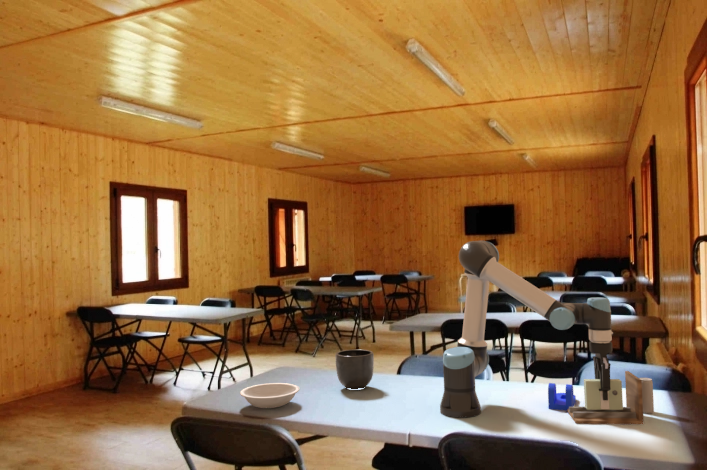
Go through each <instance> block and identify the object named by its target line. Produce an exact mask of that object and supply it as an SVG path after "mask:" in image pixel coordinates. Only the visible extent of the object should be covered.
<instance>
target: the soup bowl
mask: <svg viewBox="0 0 707 470" xmlns="http://www.w3.org/2000/svg"><path fill="white" fill-rule="evenodd" d="M299 391H300V386H298V385H296V384H292V383H286V382H285V383H284V382H268V383H260V384H255V385H254V384H253V385H252V386H251V385H250V386H248V387H244V388H243V389H242V390H240V392H239V394H240V395H241V396H242V397H243V398H244V399H245V400H246V401H247V402H248V404H250V405H251V406H253V407H255V408H260V409H274V408H279V407H283V406H285V405H286V404H288V403H290V402H291V401H292V400H293V398H294V397H295V395H296V394H297V393H299Z"/></svg>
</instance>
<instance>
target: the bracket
mask: <svg viewBox="0 0 707 470" xmlns="http://www.w3.org/2000/svg"><path fill="white" fill-rule="evenodd" d="M547 397H548V400H547V401H548V403H547V404H548V409H549V410H557V411H559V410H560V411H565V412H567V409H569V407H575V405H576V402H577V401H576V400H577V399H576V397H577V396H576V395H575V394H574V386H573V384H568V383H566V384H565V392H558V393H557V384H556V383H553V382H552V383H551V382H549V383H548V387H547Z"/></svg>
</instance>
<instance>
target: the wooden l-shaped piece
mask: <svg viewBox="0 0 707 470" xmlns="http://www.w3.org/2000/svg"><path fill="white" fill-rule="evenodd" d="M624 377H625V400H626V401H625V402H626V403H625V404H626V405H625V406H623V410H588V409H586V408H585V406H574V407H569V409H567V411H566V412H567V413H568V415H569V417H571V419H572V420H573V421H574V423H575V424H589V425H590V424H595V425H597V424H599V425H601V424H603V425H605V424H606V425H644V413H643V401H642V380H641V379H639V378H640V377H638V376H636V375H635V374H633V373H632V372H630V371H629V370H624Z"/></svg>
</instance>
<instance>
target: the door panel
mask: <svg viewBox="0 0 707 470" xmlns="http://www.w3.org/2000/svg"><path fill="white" fill-rule="evenodd" d="M610 388H611V389H610V390H609V409H601V402H600V391H599V389H601V385H600V379H595V378H584V379H583V390H584V391H583V392H584V395H583V396H584V407H585V408H586V409H588V410H623V407H624V405H623V403H624V401H623V382H622V380H621V379H619V378H610Z"/></svg>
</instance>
